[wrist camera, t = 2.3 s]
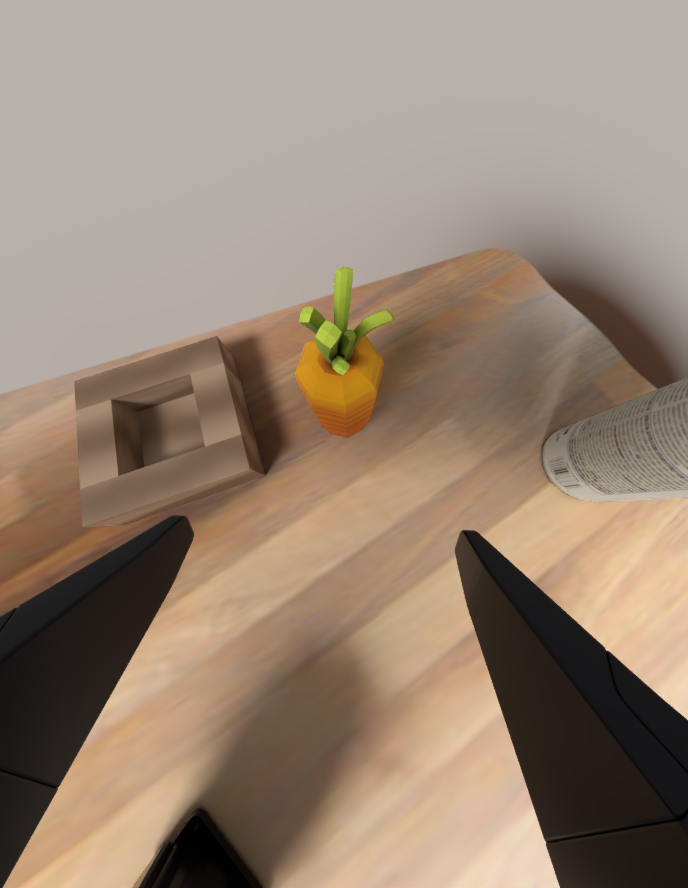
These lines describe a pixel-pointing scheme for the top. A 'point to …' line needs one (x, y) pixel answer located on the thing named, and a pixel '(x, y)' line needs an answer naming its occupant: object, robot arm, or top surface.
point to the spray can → (625, 450)
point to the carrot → (341, 363)
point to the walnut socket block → (162, 434)
